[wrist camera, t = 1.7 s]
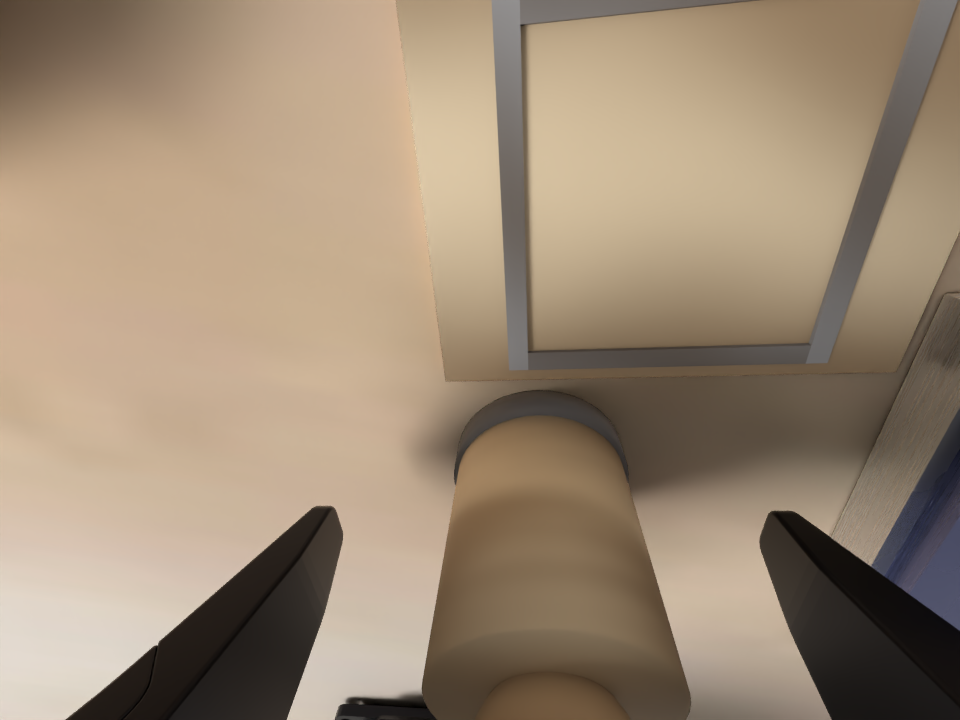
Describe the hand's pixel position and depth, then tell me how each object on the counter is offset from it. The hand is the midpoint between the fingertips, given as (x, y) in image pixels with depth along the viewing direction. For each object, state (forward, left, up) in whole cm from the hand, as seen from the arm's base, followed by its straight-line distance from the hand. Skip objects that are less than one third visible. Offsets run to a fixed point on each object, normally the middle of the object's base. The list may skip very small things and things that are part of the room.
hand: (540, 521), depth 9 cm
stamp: (0, 0, -2) cm, 2 cm away
